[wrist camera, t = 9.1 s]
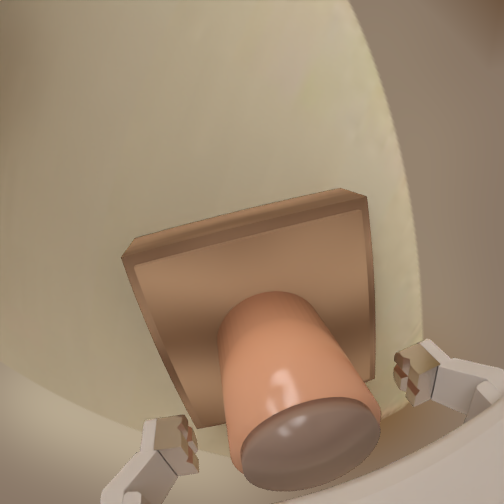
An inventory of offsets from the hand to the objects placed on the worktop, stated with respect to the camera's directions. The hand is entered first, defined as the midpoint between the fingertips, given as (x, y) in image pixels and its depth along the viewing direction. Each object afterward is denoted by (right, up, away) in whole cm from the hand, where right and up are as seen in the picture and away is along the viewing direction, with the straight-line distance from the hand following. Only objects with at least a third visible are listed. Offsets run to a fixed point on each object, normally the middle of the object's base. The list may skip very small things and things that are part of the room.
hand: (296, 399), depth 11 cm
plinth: (-1, +2, +7) cm, 8 cm away
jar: (-1, +1, +4) cm, 4 cm away
